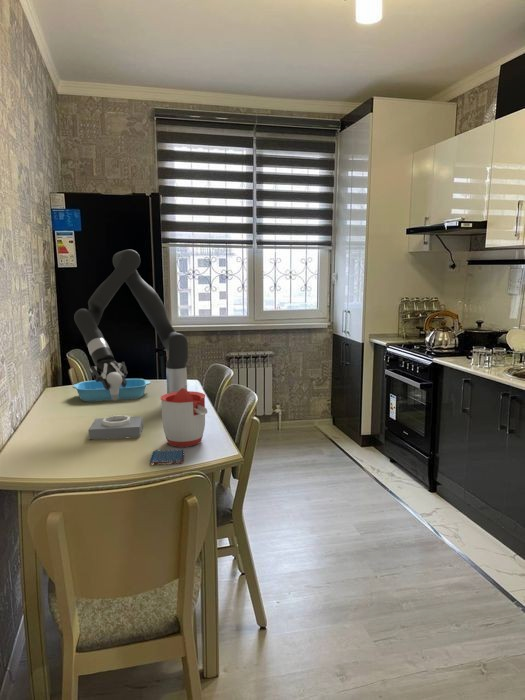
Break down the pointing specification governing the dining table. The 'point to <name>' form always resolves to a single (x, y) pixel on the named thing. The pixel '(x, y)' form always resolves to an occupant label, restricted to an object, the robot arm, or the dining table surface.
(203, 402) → the citrus juicer
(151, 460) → the woven mat
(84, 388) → the casserole dish
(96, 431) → the grey ring holder base
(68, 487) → the dining table surface
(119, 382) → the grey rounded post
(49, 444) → the dining table surface
